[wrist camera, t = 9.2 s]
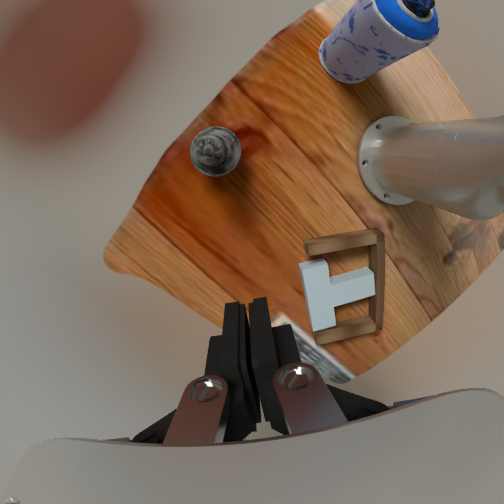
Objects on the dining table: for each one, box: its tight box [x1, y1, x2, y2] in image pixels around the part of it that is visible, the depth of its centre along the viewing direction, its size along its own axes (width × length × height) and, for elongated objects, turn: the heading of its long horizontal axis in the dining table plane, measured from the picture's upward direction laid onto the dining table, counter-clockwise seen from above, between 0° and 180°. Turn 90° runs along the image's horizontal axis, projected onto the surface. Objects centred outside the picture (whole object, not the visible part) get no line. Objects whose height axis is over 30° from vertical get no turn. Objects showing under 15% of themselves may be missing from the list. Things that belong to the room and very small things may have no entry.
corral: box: [303, 228, 385, 345], centre depth 40 cm, size 11×15×3 cm
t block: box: [299, 257, 375, 332], centre depth 40 cm, size 10×10×2 cm
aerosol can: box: [318, 0, 439, 84], centre depth 22 cm, size 8×8×20 cm
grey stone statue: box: [190, 126, 241, 176], centre depth 29 cm, size 6×6×12 cm
